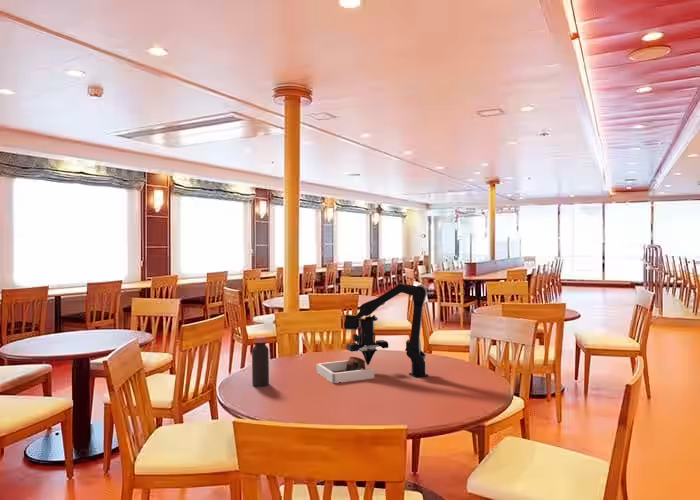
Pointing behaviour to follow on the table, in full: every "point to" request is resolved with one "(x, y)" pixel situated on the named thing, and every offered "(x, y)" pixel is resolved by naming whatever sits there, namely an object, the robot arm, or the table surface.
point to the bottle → (260, 362)
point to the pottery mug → (354, 364)
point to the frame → (328, 367)
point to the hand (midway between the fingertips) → (367, 364)
